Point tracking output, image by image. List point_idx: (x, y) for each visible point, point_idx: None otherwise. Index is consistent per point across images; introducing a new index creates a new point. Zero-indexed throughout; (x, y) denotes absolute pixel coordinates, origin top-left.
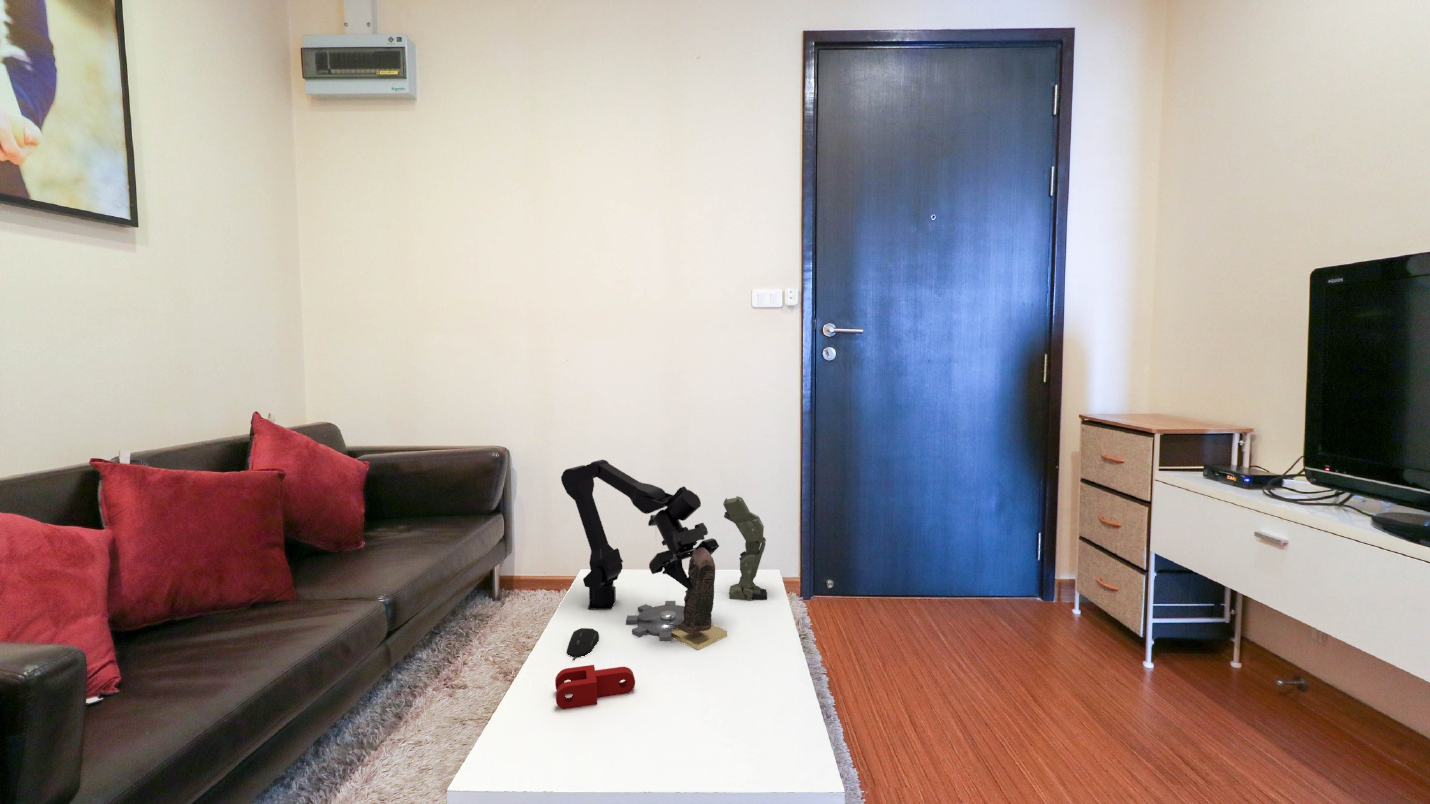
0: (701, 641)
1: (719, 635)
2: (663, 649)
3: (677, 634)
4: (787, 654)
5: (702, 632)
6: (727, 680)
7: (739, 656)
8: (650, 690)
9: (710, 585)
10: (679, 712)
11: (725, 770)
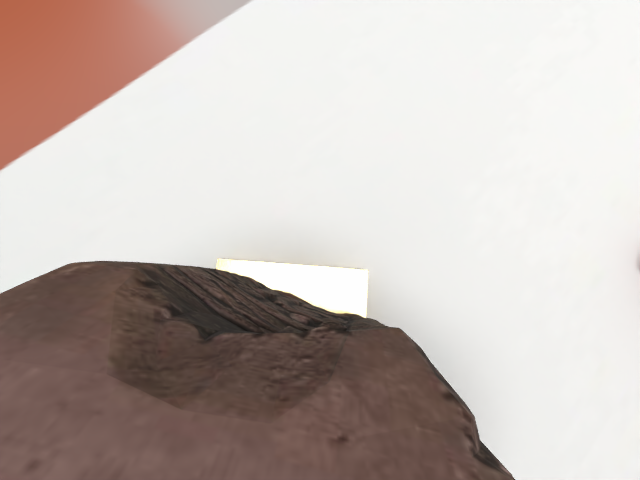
0: (339, 278)
1: (258, 262)
2: (438, 366)
3: None
4: (205, 48)
5: None
6: (433, 97)
7: (308, 147)
8: (612, 219)
9: (244, 281)
10: (614, 100)
11: None
